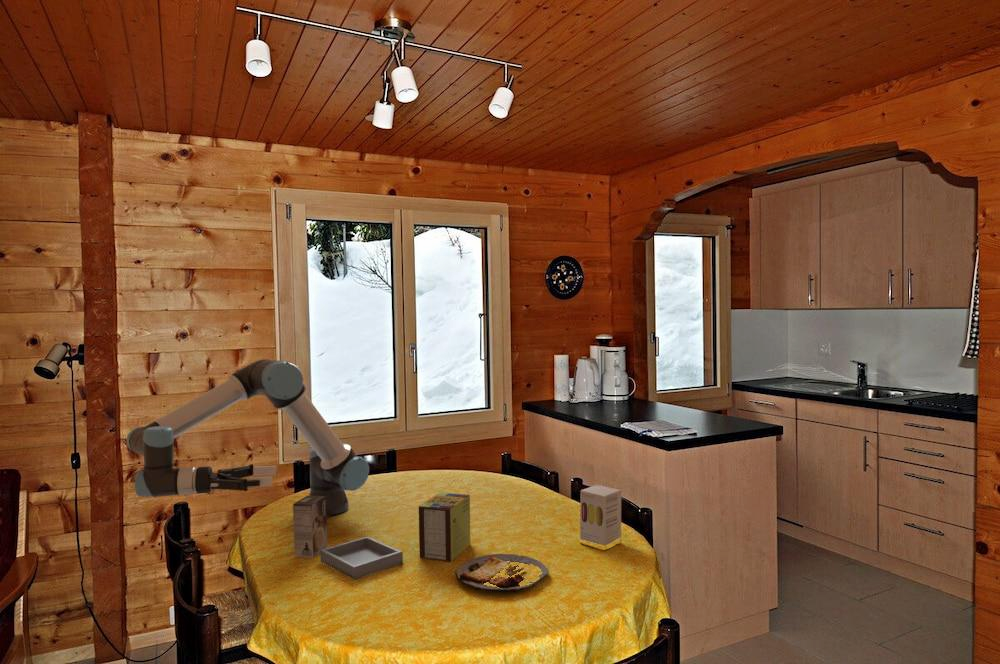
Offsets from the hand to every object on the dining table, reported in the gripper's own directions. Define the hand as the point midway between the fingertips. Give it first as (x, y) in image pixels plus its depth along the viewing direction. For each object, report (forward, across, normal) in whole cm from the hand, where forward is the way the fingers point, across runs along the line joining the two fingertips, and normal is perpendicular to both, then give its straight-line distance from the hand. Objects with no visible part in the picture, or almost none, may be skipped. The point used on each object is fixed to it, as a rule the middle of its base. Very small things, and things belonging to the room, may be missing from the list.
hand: (274, 475), depth 196 cm
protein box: (+49, +10, -24) cm, 56 cm away
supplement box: (+96, +17, -24) cm, 101 cm away
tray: (+24, +12, -24) cm, 36 cm away
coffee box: (+10, 0, -24) cm, 26 cm away
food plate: (+60, +33, -24) cm, 73 cm away
